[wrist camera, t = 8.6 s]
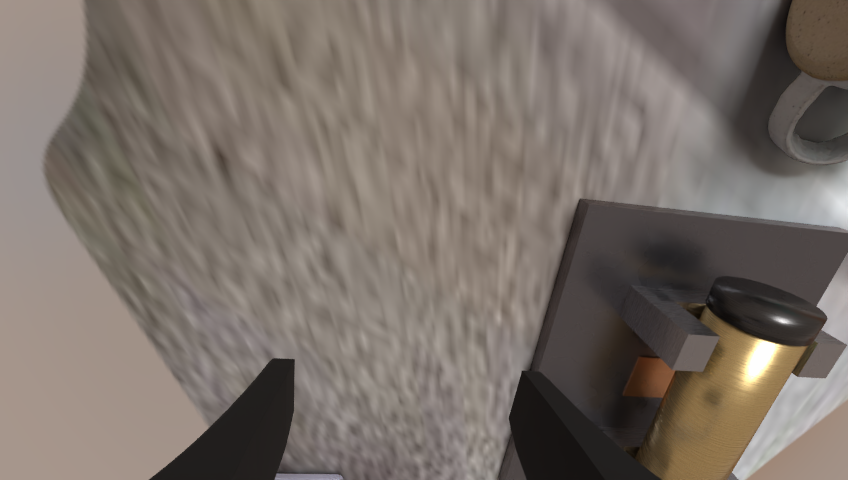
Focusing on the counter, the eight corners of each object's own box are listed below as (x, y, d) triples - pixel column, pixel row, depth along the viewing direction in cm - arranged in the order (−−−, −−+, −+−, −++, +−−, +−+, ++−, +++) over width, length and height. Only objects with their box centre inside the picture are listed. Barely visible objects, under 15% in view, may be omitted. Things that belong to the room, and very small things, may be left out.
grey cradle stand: (697, 480, 30) (759, 560, 25) (498, 477, 28) (523, 565, 23) (839, 227, 23) (969, 271, 18) (580, 198, 21) (643, 237, 15)
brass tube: (659, 483, 26) (708, 553, 23) (602, 484, 26) (642, 556, 22) (764, 278, 21) (853, 325, 17) (694, 273, 20) (771, 320, 16)
